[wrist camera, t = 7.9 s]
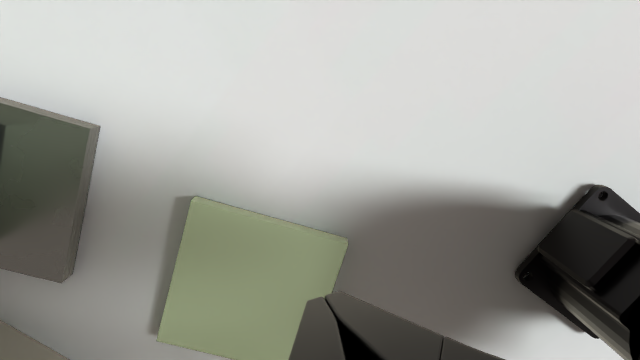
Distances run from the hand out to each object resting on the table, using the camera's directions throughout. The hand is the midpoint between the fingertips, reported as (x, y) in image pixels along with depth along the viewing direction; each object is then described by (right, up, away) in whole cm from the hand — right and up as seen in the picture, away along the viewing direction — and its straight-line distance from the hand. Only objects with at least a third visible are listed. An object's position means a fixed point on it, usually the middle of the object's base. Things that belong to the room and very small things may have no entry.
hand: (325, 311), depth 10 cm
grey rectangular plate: (-16, +3, +10) cm, 19 cm away
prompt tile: (-4, -3, +12) cm, 13 cm away
